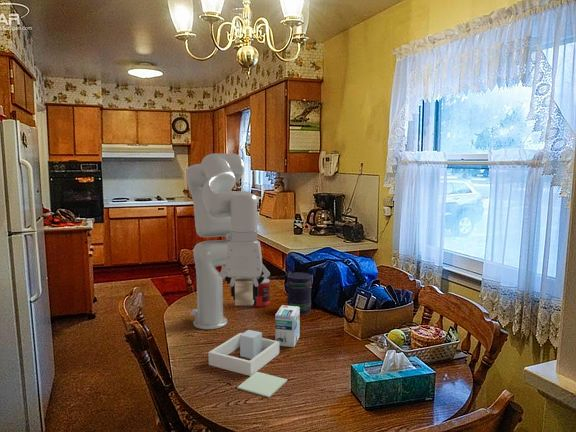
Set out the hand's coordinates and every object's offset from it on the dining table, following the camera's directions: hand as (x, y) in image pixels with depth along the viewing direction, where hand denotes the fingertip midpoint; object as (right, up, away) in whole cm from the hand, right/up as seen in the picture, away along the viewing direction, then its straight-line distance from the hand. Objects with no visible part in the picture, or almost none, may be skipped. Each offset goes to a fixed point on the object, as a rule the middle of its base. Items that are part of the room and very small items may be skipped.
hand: (244, 298), depth 128 cm
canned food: (+1, -14, +62) cm, 63 cm away
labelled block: (0, -1, 0) cm, 1 cm away
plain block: (+1, -20, +13) cm, 24 cm away
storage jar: (+17, -15, +54) cm, 59 cm away
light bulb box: (+12, -19, +24) cm, 33 cm away
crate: (-1, -21, +10) cm, 23 cm away
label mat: (+6, -23, -6) cm, 24 cm away
